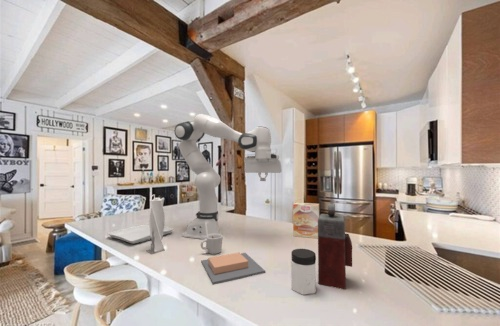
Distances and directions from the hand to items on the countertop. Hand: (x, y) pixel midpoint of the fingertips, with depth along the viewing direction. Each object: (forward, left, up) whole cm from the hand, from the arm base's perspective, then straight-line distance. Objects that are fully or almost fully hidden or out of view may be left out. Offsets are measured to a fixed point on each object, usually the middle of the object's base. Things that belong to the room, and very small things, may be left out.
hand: (263, 181), depth 120 cm
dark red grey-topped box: (+29, -36, -34) cm, 58 cm away
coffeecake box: (+25, +17, -34) cm, 46 cm away
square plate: (-74, +4, -35) cm, 82 cm away
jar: (+17, -42, -34) cm, 57 cm away
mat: (-11, -30, -34) cm, 47 cm away
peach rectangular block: (-6, -27, -32) cm, 42 cm away
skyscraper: (-53, -16, -35) cm, 65 cm away
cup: (-24, -16, -34) cm, 45 cm away
